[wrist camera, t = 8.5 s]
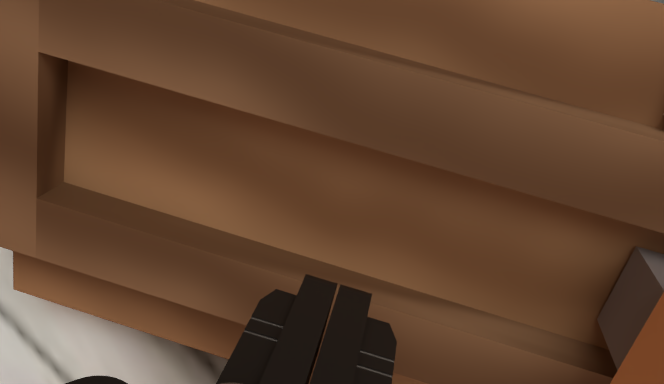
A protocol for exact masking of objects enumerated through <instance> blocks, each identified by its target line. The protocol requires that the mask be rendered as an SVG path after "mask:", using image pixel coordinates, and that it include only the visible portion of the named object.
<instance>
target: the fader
mask: <svg viewBox="0 0 664 384" xmlns="http://www.w3.org/2000/svg"><path fill="white" fill-rule="evenodd" d="M597 320H598V323H599V326H600V328H601V331H602V333H603V336H604V338H605V341H606V343H607V346H608V348H609V351H610V353H611V356H612V358H613V361H614V363H615V366H616V368H617V373H616V374H615V376H614V378H613V379H612V381H611V383H610V384H664V254H661V253H658V252H654V251H651V250H648V249H644V248H641V247H637V246H636V247H635V249H634V251H633V253H632V255H631V257H630V259H629V261H628V262H627V264H626V266H625V268H624V270H623V272H622V274H621V275H620V277H619V279H618V281H617V283H616V285H615V287H614V288H613V290H612V292H611V294H610V296H609V298H608V300H607V301H606V303H605V305H604V307H603V309H602V311H601V313H600V314H599V316H598V318H597Z"/></svg>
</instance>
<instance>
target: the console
mask: <svg viewBox="0 0 664 384" xmlns="http://www.w3.org/2000/svg"><path fill="white" fill-rule="evenodd" d="M636 246H637V247H641V248H644V249H648V250H651V251H654V252H658V253H661V254H664V4H662V3H658V2H654V1H650V0H0V247H3V248H6V249H9V250H12V251H13V280H14V290H17V291H20V292H24V293H27V294H30V295H33V296H36V297H39V298H42V299H45V300H48V301H51V302H54V303H57V304H60V305H63V306H66V307H70V308H73V309H76V310H79V311H82V312H85V313H88V314H91V315H94V316H97V317H100V318H103V319H106V320H109V321H112V322H116V323H119V324H122V325H125V326H128V327H131V328H134V329H137V330H140V331H143V332H146V333H149V334H152V335H155V336H158V337H162V338H165V339H168V340H171V341H174V342H177V343H180V344H183V345H186V346H189V347H192V348H195V349H198V350H201V351H204V352H208V353H211V354H214V355H217V356H220V357H223V358H226V359H229V358H230V356H231V354H232V352H233V350H234V349H235V347H236V345H237V343H238V341H239V339H240V337H241V335H242V333H243V332H244V330H245V327H246V325H247V324H248V322H249V320H250V319H251V316H252V314H253V312H254V310H255V308H256V306H257V304H258V302H259V301H260V299H262V298H263V297H265V296H266V295H268V294H269V293H271V292H272V291H274V290H275V289H278V290H281V291H284V292H288V293H291V294H294V295H297V294H298V291H299V289H300V287H301V284H302V282H303V280H304V277H305V275H306V274H308V275H312V276H315V277H318V278H322V279H325V280H328V281H331V282H335V283H338V284H337V288H336V292H335V295H334V299H333V302H332V306H331V309H330V313H329V317H328V320H327V324H326V327H325V331H324V334H323V338H324V335H325V332H326V329H327V326H328V322H329V319H330V316H331V313H332V310H333V306H334V303H335V300H336V297H337V294H338V290H339V287H340V284H342V285H345V286H348V287H352V288H355V289H358V290H362V291H365V292H368V293H372V297H371V302H370V307H369V311H368V316H367V317H370V318H373V319H377V320H380V321H383V322H387V323H390V326H391V328H392V331H393V333H394V336H395V338H396V341H397V346H396V354H395V361H394V370H393V376H392V384H610V383H611V381H612V379H613V378H614V376H615V374H616V373H617V368H616V366H615V363H614V361H613V358H612V356H611V353H610V351H609V348H608V346H607V343H606V341H605V338H604V336H603V333H602V331H601V328H600V326H599V323H598V320H597V318H598V316H599V314H600V313H601V311H602V309H603V307H604V305H605V303H606V301H607V300H608V298H609V296H610V294H611V292H612V290H613V288H614V287H615V285H616V283H617V281H618V279H619V277H620V275H621V274H622V272H623V270H624V268H625V266H626V264H627V262H628V261H629V259H630V257H631V255H632V253H633V251H634V249H635V247H636ZM323 338H322V342H323ZM322 342H321V345H322ZM321 345H320V348H321ZM320 348H319V351H320ZM318 355H319V352H318ZM318 355H317V358H318ZM316 361H317V359H316ZM315 364H316V362H315ZM314 367H315V365H314ZM313 371H314V368H313ZM312 374H313V372H312ZM311 377H312V375H311ZM310 380H311V378H310ZM309 383H310V381H309Z"/></svg>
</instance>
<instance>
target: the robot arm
mask: <svg viewBox="0 0 664 384" xmlns="http://www.w3.org/2000/svg"><path fill="white" fill-rule="evenodd" d="M337 284H338V283H335V282H331V281H328V280H325V279H322V278H318V277H315V276H312V275H308V274H306V275H305V277H304V280H303V282H302V284H301V287H300V289H299V291H298V294H297V295H294V294H291V293H288V292H284V291H281V290H278V289H275V290H274V291H272V292H271V293H269V294H268V295H266V296H265V297H263V298H262V299H260V301H259V302H258V304H257V306H256V308H255V310H254V312H253V314H252V316H251V319H250V320H249V322H248V324H247V325H246V327H245V330H244V332H243V333H242V335H241V337H240V339H239V341H238V343H237V345H236V347H235V349H234V350H233V352H232V354H231V356H230V358H229V360H228V362H227V364H226V366H225V368H224V370H223V372H222V373H221V375H220V377H219V379H218V381H217V383H216V384H392V376H393V370H394V361H395V354H396V346H397V341H396V338H395V336H394V333H393V331H392V328H391V326H390V323H387V322H383V321H380V320H377V319H373V318H370V317H367V316H368V311H369V307H370V302H371V297H372V293H368V292H365V291H362V290H358V289H355V288H352V287H348V286H345V285H342V284H340V287H339V290H338V294H337V297H336V300H335V303H334V306H333V310H332V313H331V316H330V319H329V322H328V326H327V329H326V332H325V335H324V338H323V334H324V331H325V327H326V324H327V320H328V317H329V313H330V309H331V306H332V302H333V299H334V295H335V292H336V288H337ZM322 338H323V342H322ZM321 342H322V345H321ZM320 345H321V348H320ZM319 348H320V351H319ZM318 352H319V355H318ZM317 355H318V358H317ZM316 359H317V361H316ZM315 362H316V364H315ZM314 365H315V367H314ZM313 368H314V371H313ZM312 372H313V374H312ZM311 375H312V377H311ZM310 378H311V380H310ZM309 381H310V383H309ZM66 384H128V383H126V382H124V381H122V380H120V379H117V378H114V377H109V376H90V377H84V378H81V379H77V380H74V381H72V382H69V383H66Z"/></svg>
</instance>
